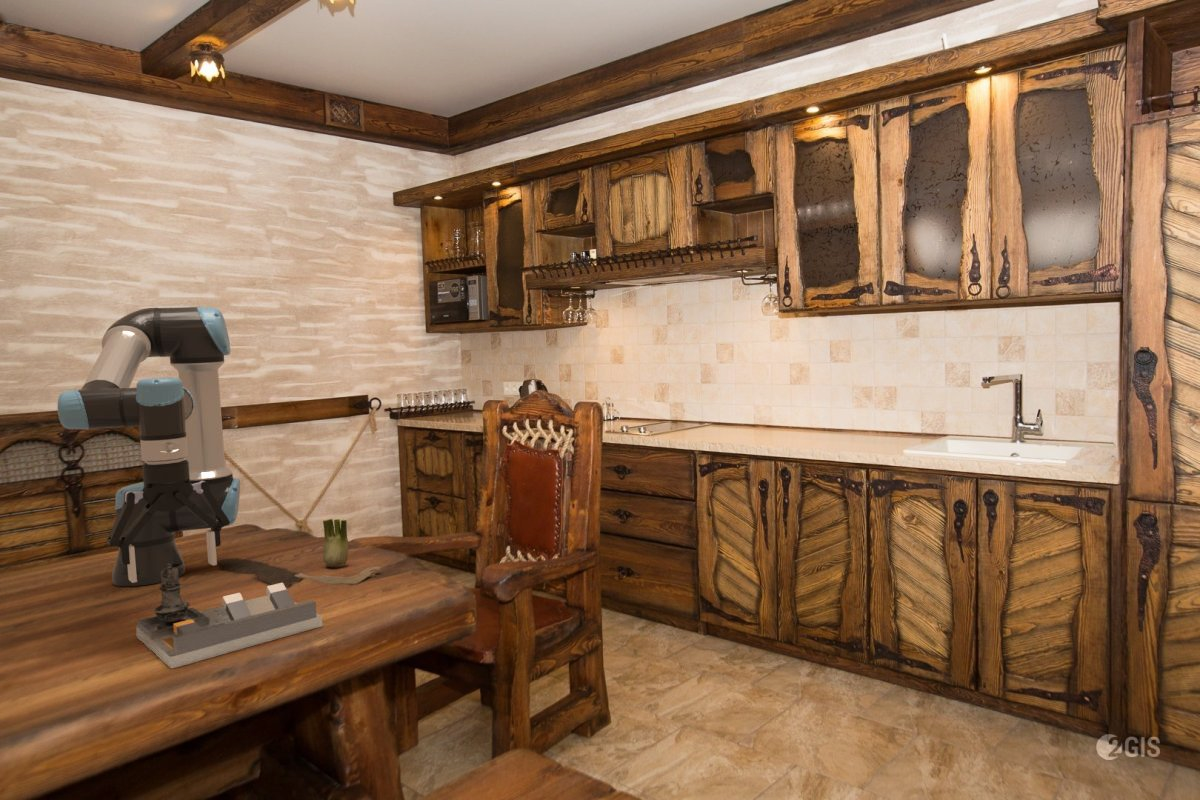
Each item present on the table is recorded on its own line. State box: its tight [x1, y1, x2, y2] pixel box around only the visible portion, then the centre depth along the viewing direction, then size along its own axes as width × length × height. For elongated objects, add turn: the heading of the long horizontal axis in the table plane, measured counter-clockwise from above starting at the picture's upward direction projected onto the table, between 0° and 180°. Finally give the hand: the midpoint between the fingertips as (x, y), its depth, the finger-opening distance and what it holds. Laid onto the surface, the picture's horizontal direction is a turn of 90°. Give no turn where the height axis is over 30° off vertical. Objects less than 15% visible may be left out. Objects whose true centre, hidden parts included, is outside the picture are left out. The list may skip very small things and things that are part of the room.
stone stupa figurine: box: [153, 563, 190, 629], centre depth 142 cm, size 6×6×12 cm
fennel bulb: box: [322, 518, 349, 568], centre depth 187 cm, size 6×5×12 cm
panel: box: [135, 594, 323, 670], centre depth 144 cm, size 22×26×5 cm
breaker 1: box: [221, 592, 252, 621], centre depth 140 cm, size 8×3×2 cm, turn 44°
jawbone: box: [294, 566, 382, 586], centre depth 176 cm, size 9×20×2 cm, turn 90°
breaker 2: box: [265, 582, 296, 610], centre depth 145 cm, size 8×3×2 cm, turn 44°
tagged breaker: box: [173, 619, 201, 635], centre depth 135 cm, size 8×3×2 cm, turn 44°
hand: (174, 572), depth 144 cm, fingers open, 13 cm apart
